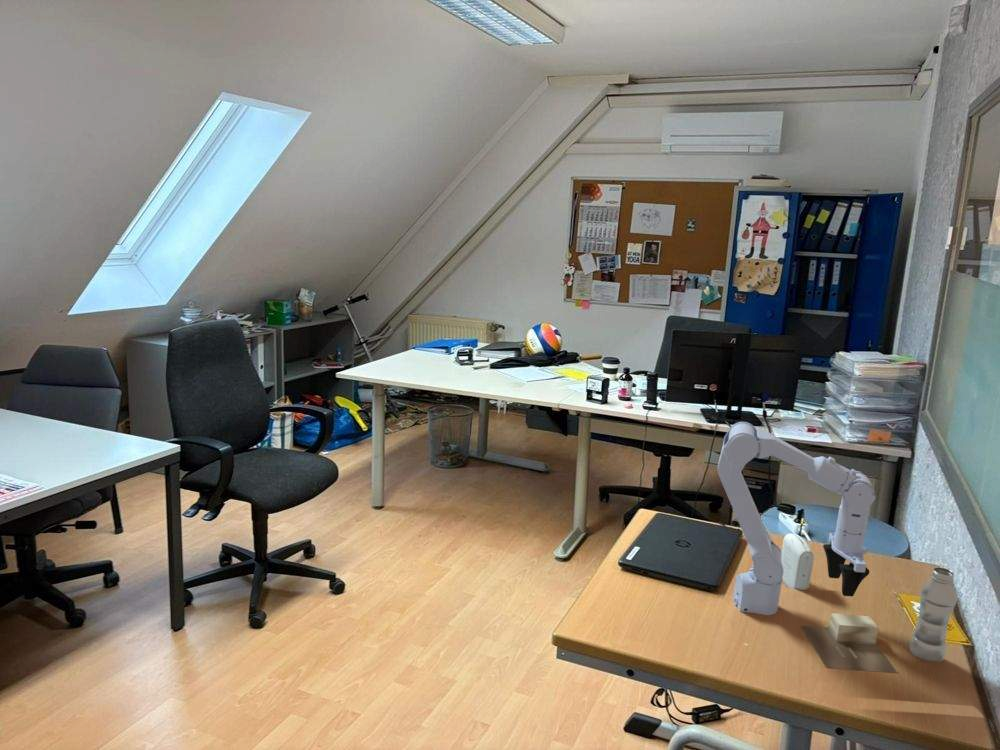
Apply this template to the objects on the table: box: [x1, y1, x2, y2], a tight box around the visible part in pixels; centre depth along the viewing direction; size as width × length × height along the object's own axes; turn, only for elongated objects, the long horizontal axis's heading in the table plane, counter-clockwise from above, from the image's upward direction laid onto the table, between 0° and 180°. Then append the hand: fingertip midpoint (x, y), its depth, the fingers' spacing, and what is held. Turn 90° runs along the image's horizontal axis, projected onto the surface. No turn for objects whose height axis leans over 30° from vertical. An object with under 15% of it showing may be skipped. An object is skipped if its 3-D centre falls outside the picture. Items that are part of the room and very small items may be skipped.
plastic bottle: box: [909, 566, 958, 663], centre depth 153 cm, size 6×7×20 cm
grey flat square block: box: [800, 625, 899, 674], centre depth 155 cm, size 14×15×2 cm
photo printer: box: [781, 533, 815, 591], centre depth 182 cm, size 10×4×12 cm, turn 3°
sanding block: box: [829, 613, 880, 645], centre depth 159 cm, size 8×4×4 cm, turn 86°
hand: (840, 586), depth 163 cm, fingers open, 7 cm apart
